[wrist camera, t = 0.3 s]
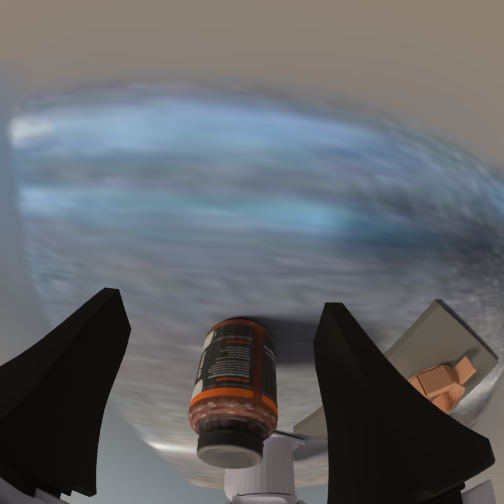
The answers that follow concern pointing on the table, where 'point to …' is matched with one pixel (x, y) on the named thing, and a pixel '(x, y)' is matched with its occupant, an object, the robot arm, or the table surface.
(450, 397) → the terracotta pot
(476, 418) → the table surface
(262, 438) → the supplement bottle
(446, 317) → the slate board
